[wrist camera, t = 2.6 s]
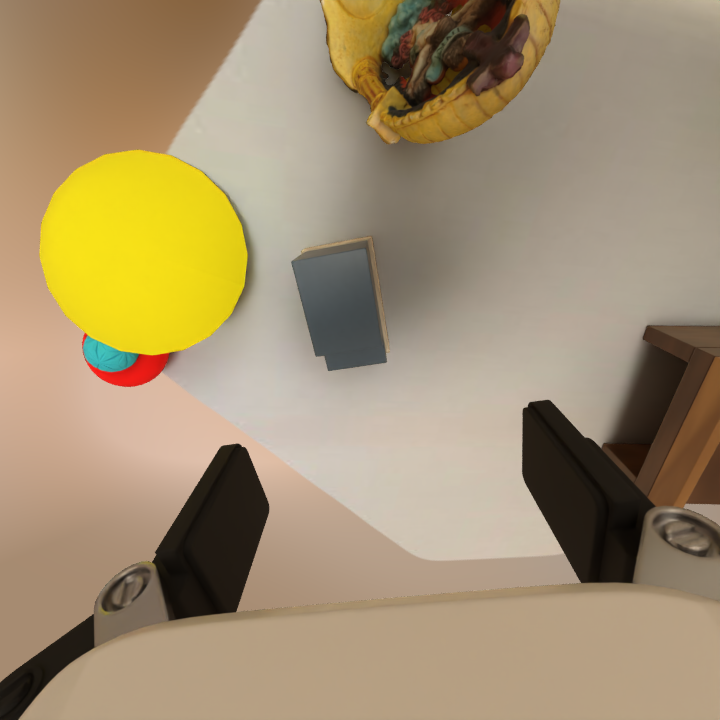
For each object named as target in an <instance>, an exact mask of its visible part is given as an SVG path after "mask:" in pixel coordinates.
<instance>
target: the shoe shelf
mask: <svg viewBox="0 0 720 720" xmlns="http://www.w3.org/2000/svg"><path fill="white" fill-rule="evenodd" d="M643 340H645V341H647V342H649V343H651V344H653V345H655V346H657V347H659V348H661V349H663V350H665V351H667V352H669V353H671V354H672V355H674V356H676V357H678V358H680V359H682V360H684V361H686V362H688V366H687V368H686V370H685V372H684V375H683V377H682V379H681V381H680V383H679V386H678V388H677V390H676V392H675V395H674V397H673V399H672V401H671V404H670V406H669V408H668V410H667V412H666V415H665V417H664V419H663V421H662V424H661V426H660V428H659V430H658V432H657V435H656V437H655V439H654V441H653V444H608V443H604V444H603V447H602V450H603V451H604V452H605V453H606V454H607V455H608V457H609V458H610V459H611V460H612V461H613V462H614V463H615V464H616V465H617V466H618V467H619V468H620V469H621V470H622V471H623V472H624V473H625V474H626V475H627V477H628V478H629V479H630V480H631V481H632V482H633V483H634V484H635V485H636V486H637V487H638V488H639V489H640V490H641V491H642V492H643V493H644V494H645V495H646V497H647V498H648V499H649V500H650V501H651V502H652V503H653V504H654V505H655V506H656V507H659V506H676V507H680V508H683V507H684V505H685V504H720V326H648V327H647V329H646V332H645V334H644V337H643Z"/></svg>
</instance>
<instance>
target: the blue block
mask: <svg viewBox="0 0 720 720" xmlns="http://www.w3.org/2000/svg"><path fill="white" fill-rule="evenodd" d="M291 263H292V267H293V270H294V274H295V278H296V282H297V286H298V290H299V294H300V297H301V301H302V305H303V309H304V313H305V317H306V321H307V324H308V328H309V332H310V336H311V340H312V344H313V348H314V351H315V355H316V357H317V356H325V360H326V364H327V368H328V371H332V370H339V369H346V368H353V367H359V366H366V365H373V364H380V363H386V362H387V358H386V353H389V352H390V349H389V341H388V335H387V328H386V322H385V316H384V309H383V303H382V297H381V290H380V284H379V278H378V271H377V265H376V259H375V252H374V246H373V240H372V236H367V237H362V238H357V239H352V240H346V241H341V242H336V243H331V244H325V245H320V246H315V247H309V248H305V249H303V250H302V251H301V255H300V256H299V257H297V258H296V259H294V260H293V261H292V262H291Z"/></svg>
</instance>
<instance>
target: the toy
mask: <svg viewBox="0 0 720 720" xmlns="http://www.w3.org/2000/svg"><path fill="white" fill-rule="evenodd" d="M39 256H40V259H41V264H42V267H43V271H44V275H45V279H46V283H47V286H48V289H49V290H50V292H51V293H52V295H53V296H54V298H55V300H56V301H57V303H58V304H59V306H60V307H61V309H62V311H63V312H64V314H65V315H66V316H67V317H68V318H69V319H70V320H71V321H72V322H74V323H75V324H76V325H77V326H78V327H79V328H80V329H82V330H83V331H84V332H85V334H84V337H83V342H82V349H83V355H84V358H85V360H86V362H87V364H88V366H89V367H90V369H91V370H92V371H93V372H94V373H95V374H96V375H97V376H98V377H99V378H101V379H102V380H104V381H106V382H108V383H111V384H114V385H118V386H124V387H131V386H138V385H142V384H144V383H147V382H149V381H151V380H152V379H154V378H155V377H156V376H158V375H159V374H160V373H161V371H162V370H163V369H164V367H165V365H166V363H167V360H168V358H169V353H170V352H175V351H181V350H185V349H187V348H188V347H190V346H192V345H194V344H196V343H198V342H200V341H202V340H204V339H206V338H207V337H209V336H211V335H212V334H213V333H214V332H215V331H216V330H217V329H218V328H219V326H220V325H221V324H222V323H223V322H224V321H225V320H226V319H227V318H228V317H229V316H230V315H231V314H232V312H233V309H234V307H235V305H236V303H237V301H238V299H239V297H240V294H241V292H242V290H243V288H244V284H245V275H246V266H247V258H248V254H247V249H246V244H245V239H244V234H243V229H242V224H241V222H240V220H239V219H238V217H237V215H236V213H235V211H234V209H233V208H232V206H231V204H230V202H229V200H228V198H227V197H226V195H225V194H224V193H223V192H222V191H221V190H220V189H219V188H218V187H217V186H216V185H215V184H214V183H213V182H212V181H211V180H210V179H209V178H208V177H207V176H206V175H205V174H204V173H203V172H202V171H200V170H198V169H196V168H194V167H192V166H190V165H189V164H187V163H185V162H183V161H181V160H179V159H177V158H175V157H173V156H171V155H166V154H160V153H154V152H149V151H143V150H132V151H124V152H118V153H111V154H105V155H103V156H101V157H99V158H97V159H95V160H93V161H91V162H89V163H87V164H85V165H83V166H81V167H79V168H78V169H76V170H75V171H74V172H73V173H72V174H71V175H70V176H69V177H68V178H67V180H66V181H65V182H64V183H63V184H62V185H61V186H60V187H59V188H58V189H57V190H56V191H55V192H54V194H53V196H52V199H51V201H50V204H49V206H48V208H47V211H46V213H45V216H44V218H43V220H42V222H41V237H40V253H39Z"/></svg>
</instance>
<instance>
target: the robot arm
mask: <svg viewBox="0 0 720 720" xmlns="http://www.w3.org/2000/svg"><path fill="white" fill-rule="evenodd" d="M522 474H523V478H524V481H525V483H526V485H527V487H528V489H529V491H530V492H531V494H532V496H533V498H534V500H535V501H536V503H537V505H538V507H539V509H540V510H541V512H542V514H543V516H544V517H545V519H546V521H547V523H548V525H549V526H550V528H551V530H552V532H553V534H554V535H555V537H556V539H557V541H558V543H559V544H560V546H561V548H562V550H563V551H564V553H565V555H566V557H567V559H568V560H569V562H570V564H571V566H572V568H573V569H574V571H575V573H576V575H577V577H578V578H579V580H580V582H581V583H577V584H562V585H545V586H530V587H515V588H503V589H491V590H479V591H466V592H455V593H443V594H430V595H418V596H407V597H395V598H384V599H372V600H361V601H350V602H339V603H327V604H316V605H306V606H296V607H285V608H275V609H263V610H254V611H242V612H236V611H237V608H238V605H239V602H240V599H241V596H242V593H243V590H244V587H245V584H246V581H247V578H248V575H249V571H250V569H251V566H252V562H253V559H254V556H255V553H256V550H257V547H258V544H259V541H260V538H261V535H262V532H263V529H264V526H265V523H266V520H267V517H268V514H269V503H268V501H267V498H266V495H265V493H264V490H263V488H262V485H261V483H260V481H259V478H258V476H257V473H256V471H255V468H254V466H253V463H252V461H251V458H250V456H249V453H248V451H247V449H246V448H245V447H242V446H241V445H240V444H232V445H224V446H221V448H220V449H219V450H218V452H217V454H216V455H215V457H214V458H213V460H212V462H211V463H210V465H209V467H208V468H207V470H206V471H205V473H204V475H203V476H202V478H201V479H200V481H199V482H198V484H197V486H196V487H195V489H194V491H193V492H192V494H191V495H190V497H189V499H188V500H187V502H186V503H185V505H184V507H183V508H182V510H181V512H180V513H179V515H178V516H177V518H176V520H175V521H174V523H173V524H172V526H171V528H170V529H169V531H168V532H167V534H166V536H165V537H164V539H163V540H162V542H161V544H160V545H159V547H158V549H157V550H156V552H155V553H156V556H155V558H154V560H153V561H152V563H151V562H149V561H148V562H139V563H136V564H133V565H131V566H129V567H127V568H125V569H124V570H122V571H121V572H120V573H118V574H117V575H115V576H114V577H113V578H112V579H111V580H110V581H109V582H108V583H107V584H106V585H105V587H104V588H103V589H102V591H101V592H100V594H99V596H98V597H97V599H96V601H95V606H94V614H93V615H92V616H90V617H89V618H87V619H86V620H85V621H83V622H82V623H80V624H79V625H78V626H76V627H75V628H73V629H72V630H71V631H69V632H68V633H67V634H65V635H64V636H62V637H61V638H59V639H58V640H57V641H55V642H54V643H52V644H51V645H50V646H48V647H47V648H46V649H44V650H43V651H41V652H40V653H38V654H37V655H36V656H34V657H33V658H31V659H30V660H29V661H27V662H26V663H24V664H23V665H22V666H20V667H19V668H18V669H16V670H15V671H14V672H12V673H11V674H10V675H9V676H8V677H6V678H5V679H4V680H3V681H1V682H0V720H720V526H719V525H718V524H716V523H715V522H713V521H712V520H710V519H708V518H707V517H705V516H703V515H701V514H699V513H696V512H694V511H691V510H689V509H684V508H680V507H676V506H659V507H656V506H655V505H654V504H653V503H652V502H651V501H650V500H649V499H648V498H647V497H646V495H645V494H644V493H643V492H642V491H641V490H640V489H639V488H638V487H637V486H636V485H635V484H634V483H633V482H632V481H631V480H630V479H629V478H628V477H627V475H626V474H625V473H624V472H623V471H622V470H621V469H620V468H619V467H618V466H617V465H616V464H615V463H614V462H613V461H612V460H611V459H610V458H609V457H608V455H607V454H606V453H605V452H604V451H603V450H602V449H601V448H600V447H599V446H598V445H597V444H596V443H595V442H594V441H593V440H592V439H590V438H585V437H584V436H583V435H582V434H581V433H580V432H579V431H578V430H577V429H576V428H575V427H574V426H573V425H572V423H571V422H570V421H569V420H568V419H567V418H566V417H565V416H564V415H563V414H562V413H561V412H560V410H559V409H558V408H557V407H556V406H555V405H554V404H553V403H552V402H551V401H550V400H542V401H535V402H530V403H529V404H528V407H526V408H523V442H522Z"/></svg>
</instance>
